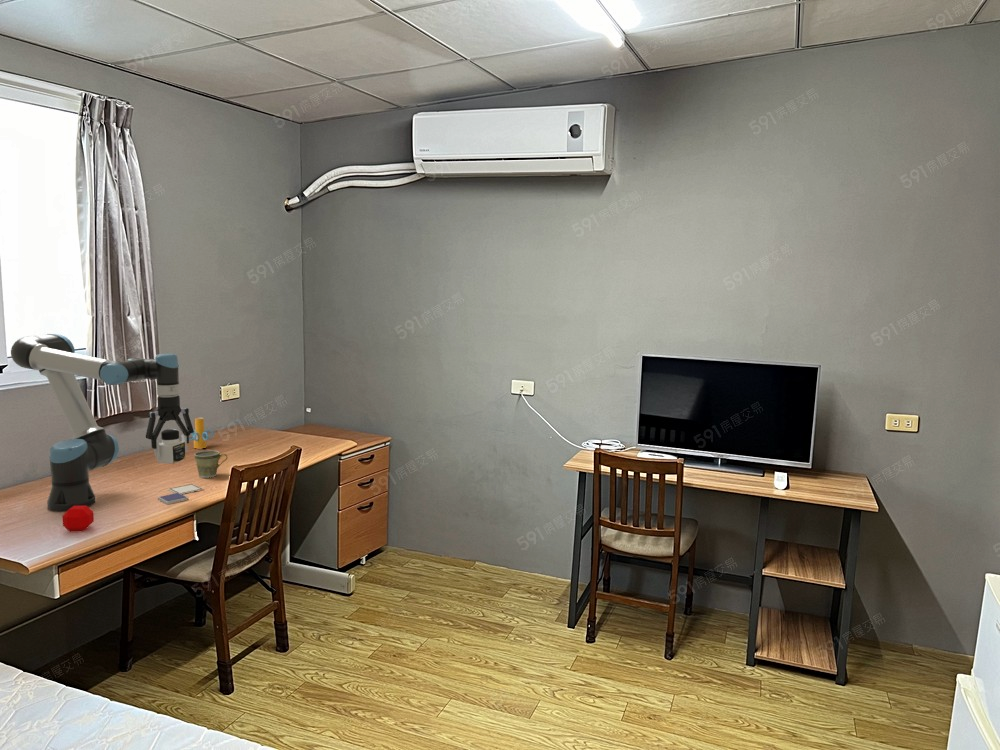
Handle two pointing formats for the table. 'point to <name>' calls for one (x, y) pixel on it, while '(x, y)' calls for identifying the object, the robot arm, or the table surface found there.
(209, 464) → the ceramic cup
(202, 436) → the cylinder
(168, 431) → the medicine bottle
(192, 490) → the print card
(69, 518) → the ball
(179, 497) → the ink pad
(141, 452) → the table surface
